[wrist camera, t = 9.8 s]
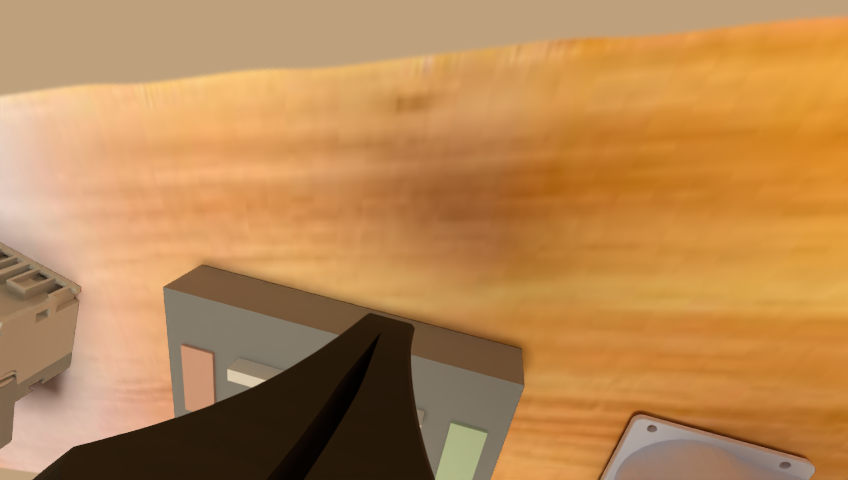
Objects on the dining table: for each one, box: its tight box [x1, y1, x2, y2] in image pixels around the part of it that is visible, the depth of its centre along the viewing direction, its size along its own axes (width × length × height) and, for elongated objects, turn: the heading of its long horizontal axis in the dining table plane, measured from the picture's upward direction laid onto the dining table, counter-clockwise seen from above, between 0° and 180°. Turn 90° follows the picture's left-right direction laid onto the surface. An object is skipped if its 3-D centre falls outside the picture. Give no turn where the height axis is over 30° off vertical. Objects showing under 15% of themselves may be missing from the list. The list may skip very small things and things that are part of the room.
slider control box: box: [163, 265, 524, 480], centre depth 24 cm, size 20×12×4 cm, turn 80°
